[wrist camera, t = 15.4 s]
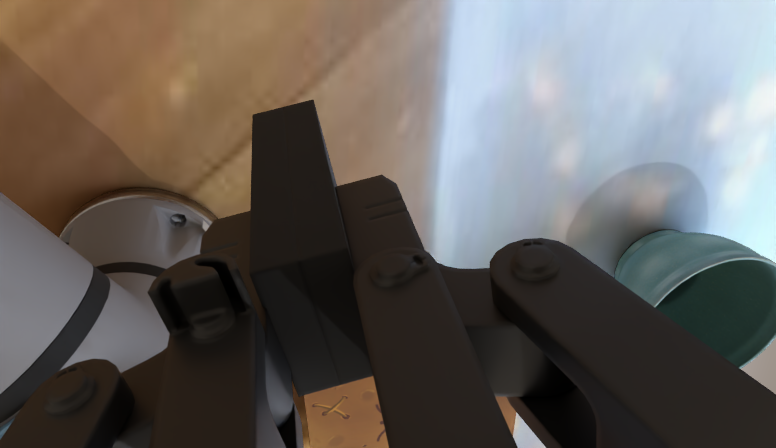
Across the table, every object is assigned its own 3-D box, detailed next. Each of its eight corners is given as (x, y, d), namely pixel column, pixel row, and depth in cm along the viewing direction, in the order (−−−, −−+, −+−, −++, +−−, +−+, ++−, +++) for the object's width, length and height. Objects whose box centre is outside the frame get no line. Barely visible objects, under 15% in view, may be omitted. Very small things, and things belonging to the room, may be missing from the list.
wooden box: (507, 303, 66) (527, 338, 61) (493, 418, 75) (510, 456, 71) (297, 331, 62) (300, 371, 57) (312, 448, 72) (315, 490, 67)
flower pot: (556, 279, 65) (604, 347, 56) (673, 172, 61) (747, 228, 51) (634, 340, 73) (688, 408, 64) (745, 249, 68) (819, 309, 59)
